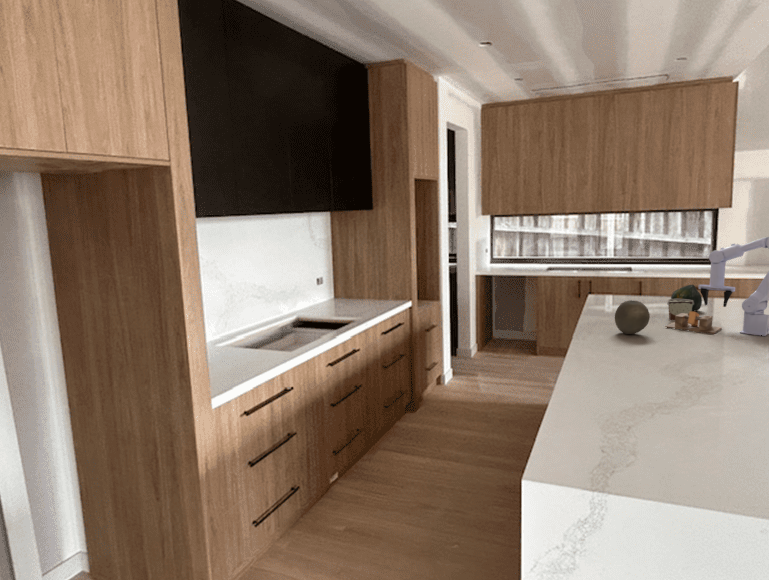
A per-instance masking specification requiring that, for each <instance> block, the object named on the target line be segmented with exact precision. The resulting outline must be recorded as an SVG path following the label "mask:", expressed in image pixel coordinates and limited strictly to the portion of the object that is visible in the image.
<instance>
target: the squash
mask: <svg viewBox="0 0 769 580" xmlns="http://www.w3.org/2000/svg"><path fill="white" fill-rule="evenodd" d="M670 299H689V300H693V302H694V305H693V306H692V312H697V311H699V310H700V309H701V307H702V305H703V304H702V303H703V297H702V294H701V292H699V289H697V287H696V286H695V285H694V284H688V285H685V286H682V287H680V288H678V289H676V290H674V291H673V292H672V294H671V297H670Z"/></svg>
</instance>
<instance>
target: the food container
mask: <svg viewBox="0 0 769 580" xmlns="http://www.w3.org/2000/svg"><path fill="white" fill-rule="evenodd" d="M666 305H668V319H670V320H675V316H676V315H678V314H681V313H686V314H688V316H689V313H690V311H692V306H693V305H694V302H693V300H689V299H671V298H669V299H668V300H667V302H666ZM692 312H693V311H692ZM670 320H669V321H670Z"/></svg>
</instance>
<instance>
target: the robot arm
mask: <svg viewBox="0 0 769 580" xmlns="http://www.w3.org/2000/svg"><path fill="white" fill-rule="evenodd" d="M760 248H763V249H768V250H769V236H767V237H766V236H765V237H761V238H758V239H755V240H753V241H750V242H748V243H745V244H738V243H737V244H736V243H731V244H730V246H727V247H720V250H719V249H718V250H717V249H716V250H715V249H714V250H713V251H711V252H710V253H709V255H708V260H709V261H710V272H709V273H710V275H709V284H698V286H697V287H698V289H697V290H699V291H700V292H699V293H700V295H701V297H702V300H703V302H704V306H708V303H709V299H708V297H709V291H712V290H713V291H723V303H722V305H723V306H722V307H724V308H726V307H727V304H728V302H729V299H730V297H731V296H732V294H733V293H734V292H736V286H728V285H725V279H726V278H725V276H726V275H725V274H726V263H727V262H728V261H730V260H734V259H736V258H737V259H738V258H741V257H743V255H744V254H745V253H746V252H749V251H753V250H757V249H760ZM768 302H769V270H768V271H767V273H766V275H765V276H764V277H763V279H762V280H761V282H760V284H759V285H758V287H757V288H756V289H755V291H754V292H753V293H751V294H750V295H749V296H748V297H747V298H746V299H744V300H743V302H742V303H741V308H742V310H743V311H744V312H743V325H742V330H740V331H739V333H740V334H746V335H753V336H761V335H762V336H761V337H766V336H768V334H769V314H765V310H766V309H767V308H768V304H769V303H768Z"/></svg>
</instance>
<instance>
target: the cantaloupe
mask: <svg viewBox="0 0 769 580" xmlns="http://www.w3.org/2000/svg"><path fill="white" fill-rule="evenodd" d="M650 315H651V314H650V312H649V309H648V307H647V306H646V305H645V304H644V303H643V302H641V301H638V300H633V299H631V300H630V299H629V300H626V301H625V300H624V302H622V303H620V305H618V307H617V308H616V310H615V313H614V323H615V326H616V327H617V329H618V330H619V331H620V332H621V333H623V334H625V335H636V334H637V333H639V332H641V331H643V330H644V329H645V328H647V325H648V324H649V322H650V318H651V317H650Z"/></svg>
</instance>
